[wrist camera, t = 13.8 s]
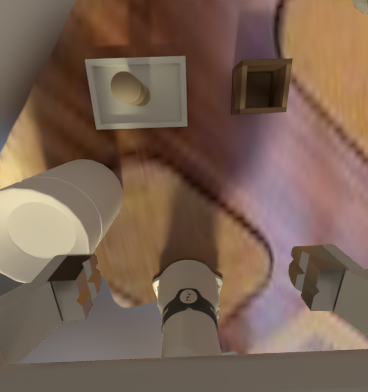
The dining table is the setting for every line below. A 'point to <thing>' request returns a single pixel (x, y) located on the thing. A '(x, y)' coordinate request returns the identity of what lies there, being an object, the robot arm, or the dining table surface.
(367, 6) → the french press
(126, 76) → the dowel
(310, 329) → the dining table surface
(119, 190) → the canister
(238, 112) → the pen pot
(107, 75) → the tray
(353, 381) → the robot arm
